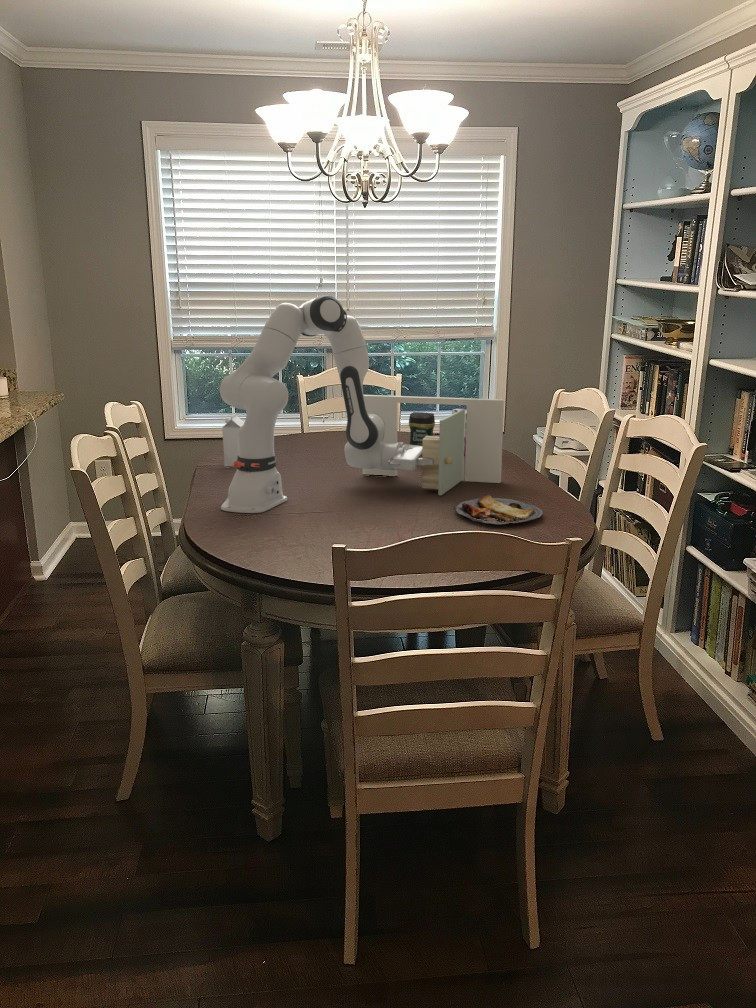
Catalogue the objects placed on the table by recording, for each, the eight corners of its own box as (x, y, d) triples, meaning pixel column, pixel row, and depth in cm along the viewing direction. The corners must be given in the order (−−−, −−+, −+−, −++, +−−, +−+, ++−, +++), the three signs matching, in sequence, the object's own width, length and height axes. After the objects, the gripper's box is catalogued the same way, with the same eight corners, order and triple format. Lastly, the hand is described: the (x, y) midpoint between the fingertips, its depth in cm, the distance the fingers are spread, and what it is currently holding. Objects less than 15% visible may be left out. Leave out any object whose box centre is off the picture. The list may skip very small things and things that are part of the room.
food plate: (439, 513, 239) (439, 501, 238) (492, 499, 253) (493, 489, 252) (503, 535, 221) (503, 523, 220) (556, 520, 235) (557, 508, 234)
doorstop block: (438, 488, 260) (439, 440, 255) (421, 487, 261) (422, 439, 256) (441, 484, 265) (442, 436, 260) (425, 483, 266) (425, 435, 262)
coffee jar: (405, 463, 300) (406, 413, 295) (411, 458, 308) (411, 410, 302) (431, 464, 298) (431, 414, 292) (436, 460, 305) (437, 411, 300)
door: (468, 479, 274) (470, 409, 268) (447, 496, 255) (448, 421, 248) (460, 478, 275) (462, 409, 269) (438, 495, 256) (439, 420, 249)
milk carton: (248, 463, 300) (245, 413, 295) (243, 468, 294) (240, 416, 288) (229, 463, 301) (226, 412, 296) (224, 467, 294) (221, 416, 289)
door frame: (500, 483, 272) (503, 400, 264) (362, 475, 283) (361, 395, 275) (500, 481, 274) (504, 399, 266) (364, 473, 285) (363, 394, 277)
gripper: (385, 454, 253) (429, 456, 250) (399, 441, 272) (440, 443, 269) (385, 473, 255) (428, 476, 251) (399, 459, 274) (440, 461, 270)
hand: (435, 459), depth 260 cm, fingers closed on doorstop block, 5 cm apart
